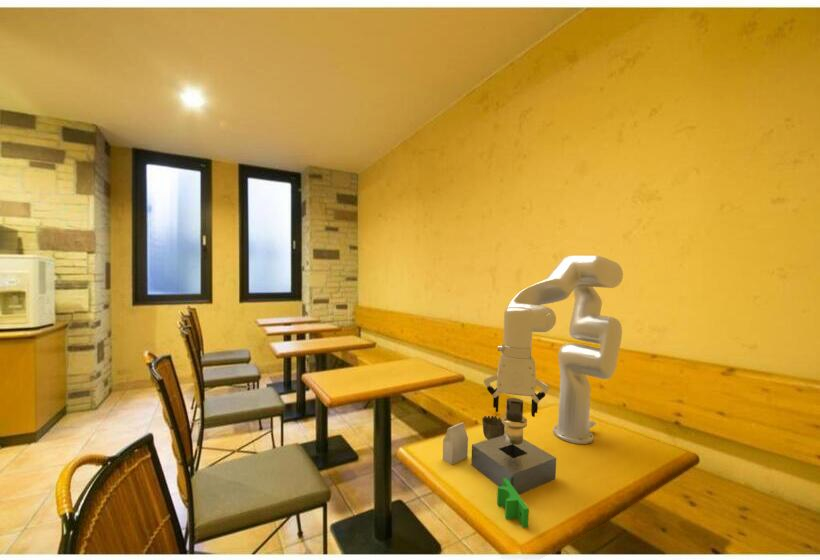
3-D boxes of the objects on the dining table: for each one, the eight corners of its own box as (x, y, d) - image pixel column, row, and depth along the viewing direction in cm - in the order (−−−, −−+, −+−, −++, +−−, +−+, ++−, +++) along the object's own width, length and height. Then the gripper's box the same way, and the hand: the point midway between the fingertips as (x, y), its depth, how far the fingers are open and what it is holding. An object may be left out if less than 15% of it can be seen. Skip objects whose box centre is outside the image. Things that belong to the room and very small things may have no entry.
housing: (511, 451, 110) (512, 432, 110) (555, 479, 96) (556, 457, 96) (471, 464, 102) (471, 444, 102) (512, 497, 88) (513, 473, 88)
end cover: (513, 432, 103) (514, 394, 103) (531, 442, 98) (533, 403, 97) (495, 437, 100) (497, 398, 100) (513, 448, 94) (515, 407, 94)
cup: (505, 451, 110) (506, 426, 110) (481, 448, 111) (482, 423, 111) (504, 440, 117) (505, 416, 117) (481, 437, 119) (482, 414, 118)
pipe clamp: (492, 497, 89) (492, 479, 89) (506, 495, 89) (506, 478, 89) (512, 530, 78) (513, 509, 78) (528, 528, 78) (528, 507, 78)
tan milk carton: (467, 457, 106) (468, 424, 106) (451, 465, 102) (452, 431, 102) (458, 452, 109) (459, 420, 109) (442, 459, 105) (443, 426, 104)
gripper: (484, 352, 96) (482, 413, 97) (552, 358, 92) (549, 422, 93) (485, 346, 104) (483, 403, 104) (548, 351, 99) (546, 411, 100)
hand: (514, 412), depth 99 cm, fingers open, 9 cm apart
